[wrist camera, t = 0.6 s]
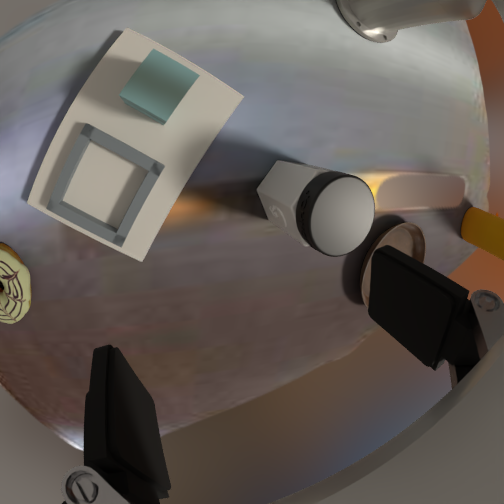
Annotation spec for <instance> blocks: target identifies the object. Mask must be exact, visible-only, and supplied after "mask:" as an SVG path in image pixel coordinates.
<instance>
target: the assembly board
mask: <svg viewBox="0 0 504 504" xmlns="http://www.w3.org/2000/svg"><path fill="white" fill-rule="evenodd" d="M152 49H155V50H157V51H159V52H161V53H163V54H164V55H166V56H168V57H170V58H172V59H173V60H175V61H177V62H179V63H180V64H182V65H184V66H185V67H187V68H189V69H190V70H192V71H194V72H195V73H197V74H199V75H200V76H199V77H198V79H197V80H196V81H195V82H194V84H193V85H192V86H191V88H190V89H189V90H188V92H187V93H186V95H185V96H184V97H183V99H182V100H181V102H180V103H179V104H178V106H177V107H176V109H175V110H174V112H173V113H172V114H171V116H170V117H169V119H168V120H167V122H166V123H165V124H164V125H162V124H161V123H159V122H157V121H155V120H154V119H152V118H150V117H148V116H147V115H145V114H143V113H141V112H139V111H138V110H136V109H134V108H132V107H130V106H128V105H127V104H125V103H124V101H123V100H122V99H121V97H120V96H119V94H120V92H121V91H122V89H123V88H124V87H125V85H126V84H127V82H128V81H129V79H130V78H131V77H132V75H133V74H134V73H135V71H136V70H137V69H138V67H139V66H140V65H141V63H142V62H143V61H144V59H145V58H146V57H147V56H148V54H149V53H150V52H151V51H152ZM243 98H244V96H242V95H241V94H240V93H238V92H237V91H235V90H234V89H232V88H231V87H229V86H228V85H226V84H225V83H223V82H222V81H220V80H219V79H217V78H216V77H214V76H213V75H211V74H210V73H208V72H207V71H205V70H203V69H202V68H200V67H198V66H197V65H195V64H194V63H192V62H190V61H189V60H187V59H185V58H183V57H182V56H180V55H178V54H177V53H175V52H173V51H171V50H169V49H168V48H166V47H164V46H162V45H160V44H158V43H157V42H155V41H153V40H151V39H149V38H147V37H145V36H143V35H141V34H139V33H137V32H135V31H133V30H131V29H129V28H126V29H125V30H124V32H123V33H122V34H121V35H120V36H119V38H118V39H117V40H116V41H115V42H114V44H113V45H112V46H111V47H110V49H109V50H108V51H107V53H106V54H105V55H104V57H103V58H102V59H101V61H100V62H99V63H98V65H97V66H96V68H95V69H94V70H93V72H92V73H91V75H90V76H89V78H88V79H87V81H86V82H85V84H84V85H83V87H82V89H81V90H80V92H79V93H78V95H77V97H76V98H75V100H74V102H73V103H72V105H71V107H70V108H69V110H68V112H67V114H66V115H65V117H64V119H63V121H62V123H61V125H60V127H59V128H58V130H57V132H56V134H55V136H54V138H53V140H52V142H51V145H50V147H49V149H48V151H47V153H46V155H45V158H44V160H43V162H42V165H41V167H40V169H39V172H38V174H37V177H36V179H35V182H34V184H33V187H32V190H31V193H30V195H29V198H28V201H27V203H28V204H29V205H31V206H33V207H35V208H37V209H38V210H40V211H42V212H44V213H46V214H47V215H49V216H51V217H53V218H55V219H57V220H59V221H60V222H62V223H64V224H66V225H68V226H70V227H72V228H74V229H76V230H78V231H80V232H82V233H84V234H85V235H87V236H89V237H91V238H93V239H95V240H97V241H99V242H101V243H103V244H105V245H107V246H110V247H112V248H114V249H116V250H118V251H120V252H122V253H124V254H126V255H128V256H130V257H132V258H135V259H137V260H139V261H141V262H142V261H143V259H144V257H145V255H146V254H147V252H148V250H149V248H150V246H151V244H152V242H153V240H154V238H155V237H156V235H157V233H158V231H159V229H160V227H161V226H162V224H163V222H164V220H165V218H166V217H167V215H168V213H169V211H170V210H171V208H172V206H173V204H174V203H175V201H176V199H177V198H178V196H179V194H180V192H181V191H182V189H183V187H184V186H185V184H186V182H187V181H188V179H189V178H190V176H191V174H192V173H193V171H194V170H195V168H196V166H197V165H198V163H199V162H200V160H201V159H202V157H203V155H204V154H205V152H206V151H207V149H208V148H209V146H210V145H211V143H212V142H213V140H214V139H215V137H216V136H217V134H218V133H219V131H220V130H221V128H222V127H223V126H224V124H225V123H226V121H227V120H228V118H229V117H230V116H231V114H232V113H233V111H234V110H235V109H236V107H237V106H238V104H239V103H240V102H241V100H242V99H243Z"/></svg>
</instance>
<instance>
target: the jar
mask: <svg viewBox="0 0 504 504" xmlns="http://www.w3.org/2000/svg"><path fill="white" fill-rule="evenodd" d="M257 192H258V195H259V197H260V200H261V202H262V205H263V207H264V210H265V212H266V215H267V217H268V220H269V221H270V222H272V223H273V224H275V225H276V226H277V227H279V228H280V229H281V230H283V231H284V232H286V233H287V234H288V235H290V236H291V237H292V238H294V239H295V240H297V241H298V242H299V243H301V244H302V245H303V246H311V247H312V248H314V249H315V250H317V251H319V252H321V253H322V254H325V255H327V256H332V257H337V256H343V255H346V254H348V253H350V252H352V251H353V250H355V249H356V248H357V247H358V246H359V245H360V244H361V243H362V242H363V241H364V240H365V238H366V237H367V235H368V233H369V231H370V229H371V227H372V224H373V220H374V214H375V203H374V198H373V194H372V192H371V190H370V188H369V186H368V185H367V184H366V183H365V182H364V181H363V180H362V179H360V178H359V177H356V176H353V175H350V174H346V173H342V172H338V171H334V170H330V169H325V168H321V167H317V166H313V165H308V164H302V163H295V162H288V161H281V160H278V161H276V163H275V164H274V165H273V167H272V168H271V170H270V171H269V172H268V174H267V175H266V177H265V178H264V179H263V181H262V182H261V184H260V185H259V186H258V188H257Z"/></svg>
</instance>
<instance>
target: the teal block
mask: <svg viewBox="0 0 504 504" xmlns="http://www.w3.org/2000/svg"><path fill="white" fill-rule="evenodd" d="M199 76H200V75H199V74H197V73H195V72H194V71H192V70H190V69H189V68H187V67H185V66H184V65H182V64H180V63H179V62H177V61H175V60H173V59H172V58H170V57H168V56H166V55H164V54H163V53H161V52H159V51H157V50H155V49H152V51H151V52H150V53H149V54H148V56H147V57H146V58H145V59H144V61H143V62H142V63H141V65H140V66H139V67H138V69H137V70H136V71H135V73H134V74H133V75H132V77H131V78H130V79H129V81H128V82H127V84H126V85H125V87H124V88H123V89H122V91H121V92H120V94H119V96H120V97H121V99H122V100H123V101H124V103H125V104H127V105H128V106H130V107H132V108H134V109H136V110H138V111H139V112H141V113H143V114H145V115H147V116H148V117H150V118H152V119H154V120H155V121H157V122H159V123H161V124H162V125H164V124H165V123H166V122H167V120H168V119H169V117H170V116H171V114H172V113H173V112H174V110H175V109H176V107H177V106H178V104H179V103H180V102H181V100H182V99H183V97H184V96H185V95H186V93H187V92H188V90H189V89H190V88H191V86H192V85H193V84H194V82H195V81H196V80H197V79H198V77H199Z"/></svg>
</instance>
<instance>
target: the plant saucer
mask: <svg viewBox="0 0 504 504" xmlns="http://www.w3.org/2000/svg"><path fill="white" fill-rule="evenodd" d="M385 245H390V246H392V247H394V248H396V249H398V250H400V251H401V252H403V253H405V254H407V255H409V256H410V257H412V258H414V259H416V260H418V261H419V262H421V263H424V259H425V254H426V241H425V236H424V233H423V231H422V229H421V228H420V227H419V226H418V225H416V224H414V223H411V222H407V223H401V224H398V225H396V226H393V227H391V228H390V229H388V230H387V231H385V232H384V233H383V234H381V235H380V236H379V237H378V238H377V239H376V241H375V242H374V243H373V245H372V246H371V248H370V249H369V251H368V253H367V255H366V257H365V259H364V262H363V265H362V269H361V275H360V289H361V295H362V298H363V301H364V303H365V305H366V307H367V308H368V305H369V293H370V277H371V258H372V255H373V253H374V251H375V250H376V249H378V248H380V247H383V246H385Z"/></svg>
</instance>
